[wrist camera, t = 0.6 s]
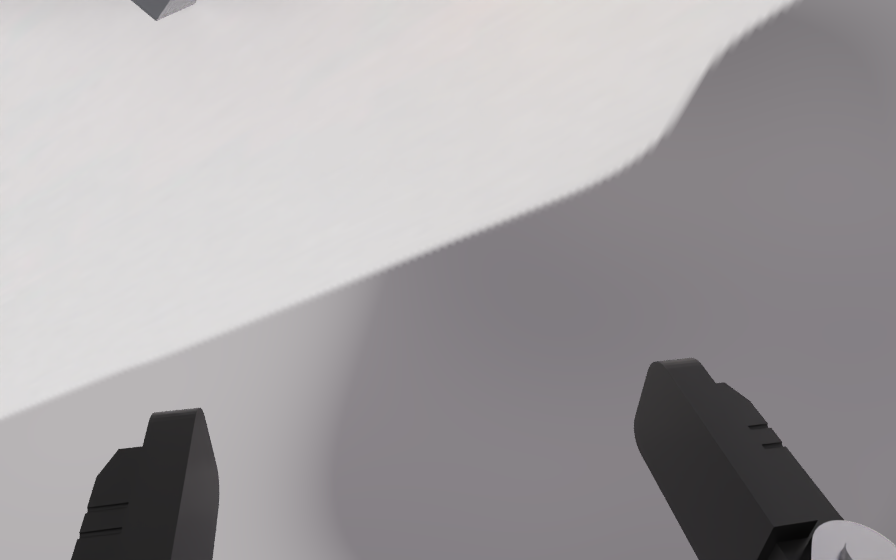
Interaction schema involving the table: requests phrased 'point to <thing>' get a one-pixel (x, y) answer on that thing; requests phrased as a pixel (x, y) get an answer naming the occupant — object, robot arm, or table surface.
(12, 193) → the table surface
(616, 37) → the table surface
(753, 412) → the robot arm
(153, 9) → the gray slotted block
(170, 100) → the table surface
